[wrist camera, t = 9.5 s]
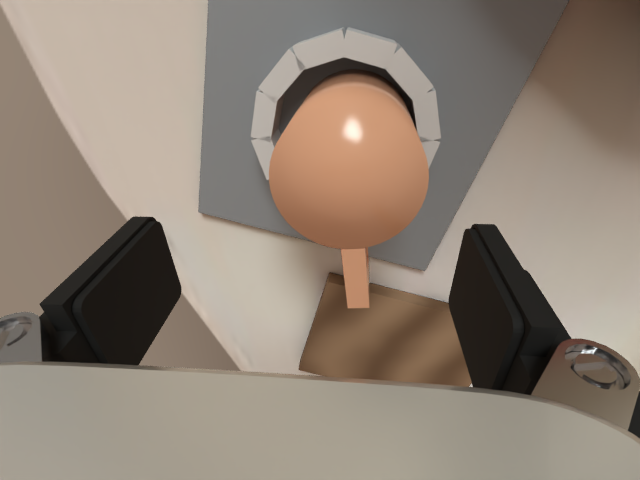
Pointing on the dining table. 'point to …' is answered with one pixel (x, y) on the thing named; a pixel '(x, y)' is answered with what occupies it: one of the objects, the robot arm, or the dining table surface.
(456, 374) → the walnut board
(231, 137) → the squash holder
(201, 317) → the dining table surface
